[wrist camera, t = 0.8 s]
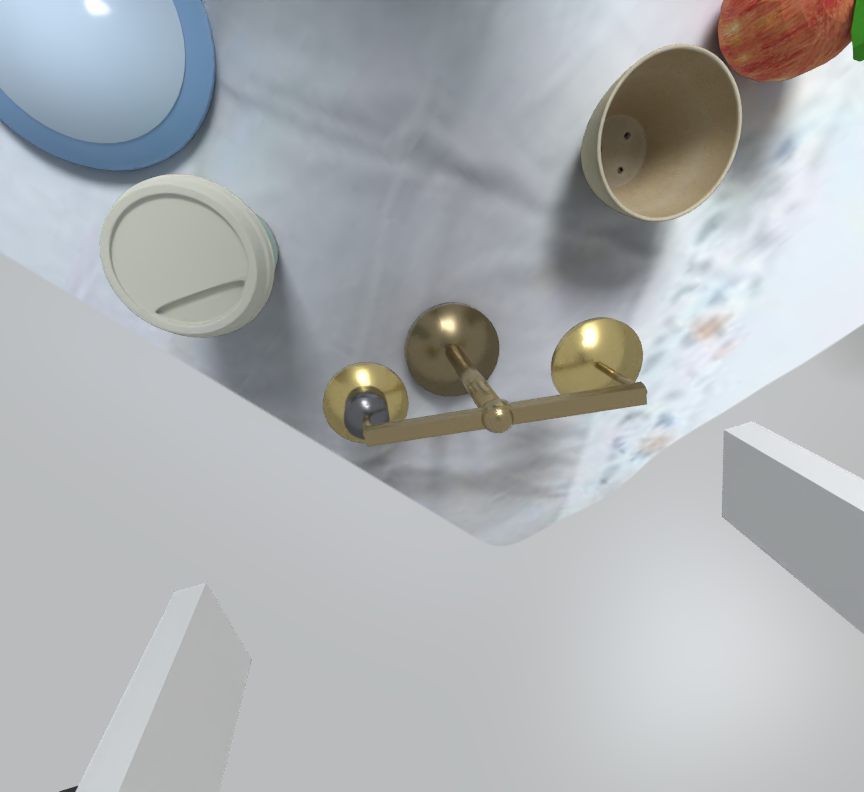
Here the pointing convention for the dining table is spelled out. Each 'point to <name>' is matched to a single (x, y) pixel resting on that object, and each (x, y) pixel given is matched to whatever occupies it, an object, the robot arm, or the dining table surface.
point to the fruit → (788, 35)
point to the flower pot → (664, 134)
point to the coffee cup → (188, 255)
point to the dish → (106, 77)
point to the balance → (482, 379)
